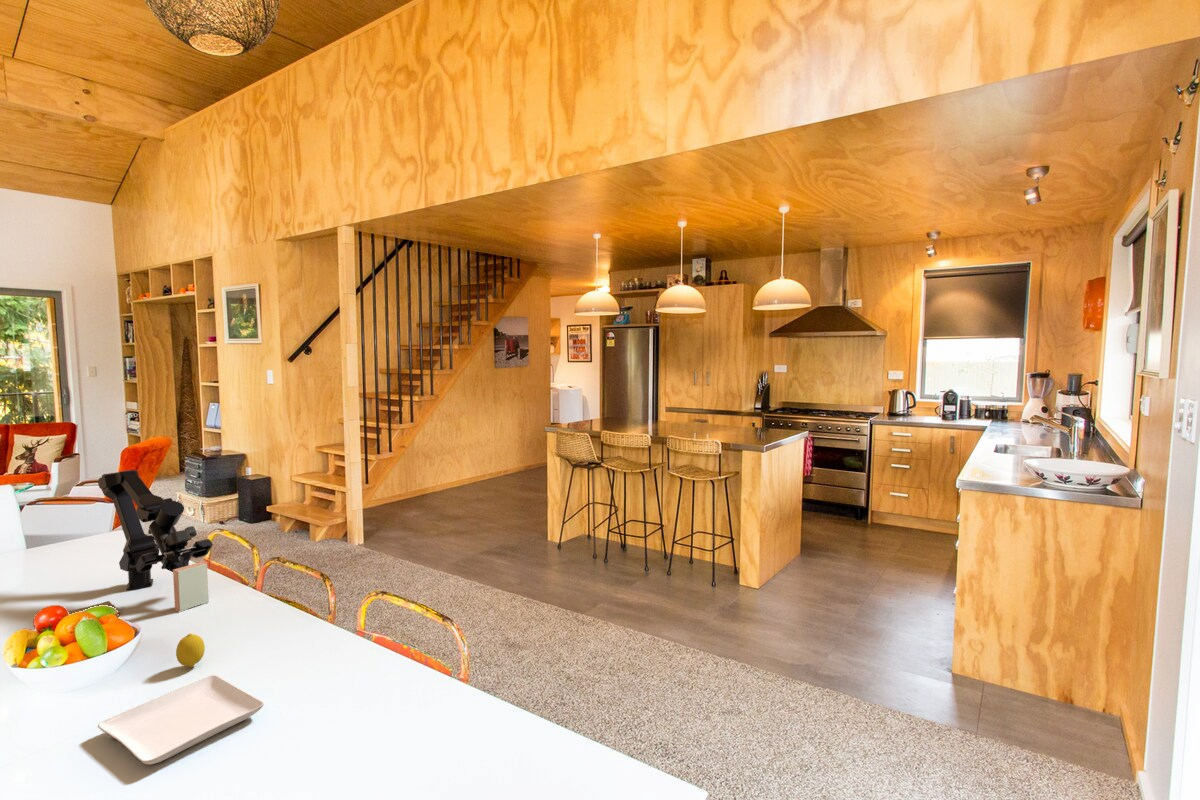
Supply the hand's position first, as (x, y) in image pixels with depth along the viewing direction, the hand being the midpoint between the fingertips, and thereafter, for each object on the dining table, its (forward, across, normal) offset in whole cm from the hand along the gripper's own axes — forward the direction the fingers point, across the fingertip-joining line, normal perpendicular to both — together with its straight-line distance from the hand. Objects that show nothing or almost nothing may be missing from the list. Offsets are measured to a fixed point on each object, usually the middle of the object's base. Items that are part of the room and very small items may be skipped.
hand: (186, 578), depth 178 cm
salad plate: (+52, -31, -39) cm, 72 cm away
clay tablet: (-5, -18, +17) cm, 25 cm away
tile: (+8, 0, +4) cm, 8 cm away
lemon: (+34, -19, -22) cm, 45 cm away
